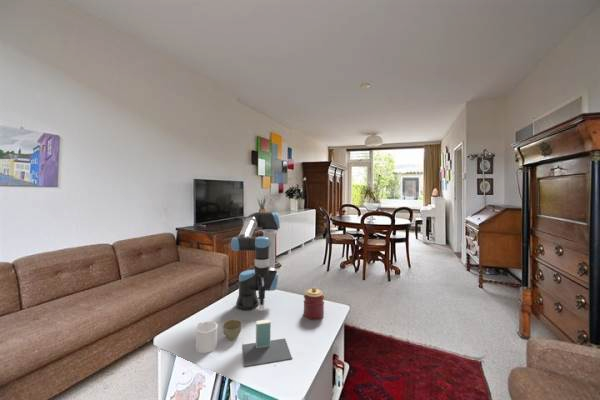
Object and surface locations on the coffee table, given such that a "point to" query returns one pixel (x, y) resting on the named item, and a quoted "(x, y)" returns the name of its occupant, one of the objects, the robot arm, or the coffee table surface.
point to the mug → (206, 337)
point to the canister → (313, 304)
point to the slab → (263, 333)
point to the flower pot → (232, 329)
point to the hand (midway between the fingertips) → (261, 309)
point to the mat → (266, 353)
